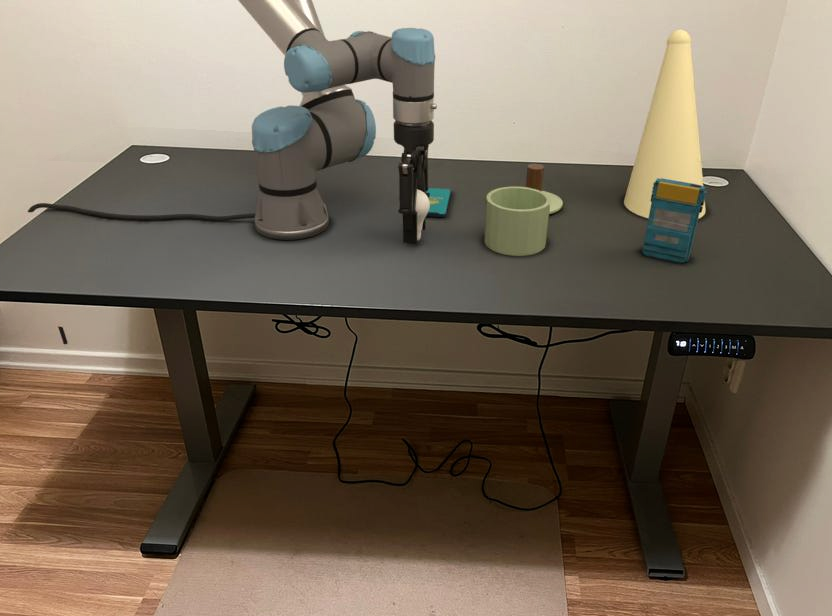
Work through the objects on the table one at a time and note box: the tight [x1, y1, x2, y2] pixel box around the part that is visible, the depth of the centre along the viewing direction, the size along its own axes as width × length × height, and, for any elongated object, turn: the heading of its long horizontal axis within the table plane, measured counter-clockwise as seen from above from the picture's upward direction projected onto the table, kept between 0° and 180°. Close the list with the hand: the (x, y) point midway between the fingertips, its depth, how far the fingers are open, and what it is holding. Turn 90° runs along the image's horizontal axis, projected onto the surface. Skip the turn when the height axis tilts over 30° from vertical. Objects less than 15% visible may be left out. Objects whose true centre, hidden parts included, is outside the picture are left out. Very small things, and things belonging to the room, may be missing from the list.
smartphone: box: [426, 187, 452, 218], centre depth 164 cm, size 7×1×15 cm
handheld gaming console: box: [641, 178, 707, 264], centre depth 140 cm, size 10×4×15 cm, turn 64°
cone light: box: [623, 29, 707, 220], centre depth 158 cm, size 25×18×35 cm
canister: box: [483, 186, 551, 257], centre depth 146 cm, size 13×13×10 cm
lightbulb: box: [401, 189, 430, 242], centre depth 145 cm, size 6×6×11 cm
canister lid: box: [525, 163, 564, 215], centre depth 162 cm, size 14×14×9 cm
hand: (414, 235), depth 147 cm, fingers closed on lightbulb, 6 cm apart
